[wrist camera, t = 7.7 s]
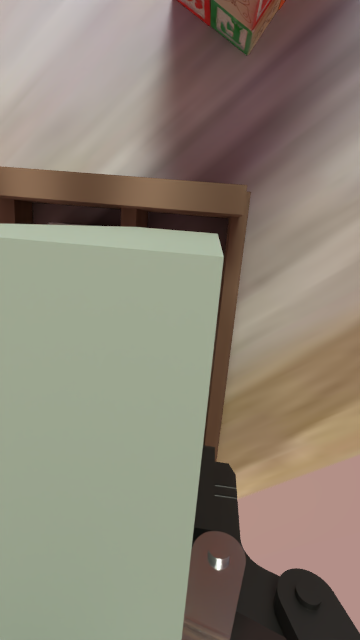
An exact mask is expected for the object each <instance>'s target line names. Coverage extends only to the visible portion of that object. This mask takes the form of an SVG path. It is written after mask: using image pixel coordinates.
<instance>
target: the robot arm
mask: <svg viewBox="0 0 360 640" xmlns="http://www.w3.org/2000/svg"><path fill="white" fill-rule="evenodd" d="M181 640H360V633H359V632H358V630H357V629H356V627H355V625H354V624H353V622H352V621H351V619H350V618H349V616H348V615H347V613H346V611H345V610H344V608H343V606H342V605H341V603H340V602H339V600H338V599H337V597H336V595H335V594H334V592H333V591H332V589H331V588H330V587H329V586H328V584H327V583H326V582H325V581H324V580H322V579H321V578H320V577H318V576H317V575H315V574H313V573H312V572H310V571H307V570H303V569H290V570H287V571H285V572H284V573H283V574H282V575H281V576H278V575H276V574H274V573H272V572H269V571H267V570H265V569H264V568H262V567H260V566H258V565H257V564H256V563H255V562H253V561H252V560H251V559H250V558H249V556H248V555H247V554H246V552H245V551H244V549H243V547H242V544H241V540H240V530H239V515H238V502H237V489H236V476H235V473H234V472H233V470H232V468H231V467H230V465H229V464H227V463H220V462H215V447H213V446H205V445H203V449H202V458H201V467H200V477H199V486H198V495H197V504H196V513H195V522H194V531H193V540H192V549H191V558H190V567H189V576H188V585H187V594H186V603H185V612H184V621H183V630H182V639H181Z"/></svg>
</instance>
